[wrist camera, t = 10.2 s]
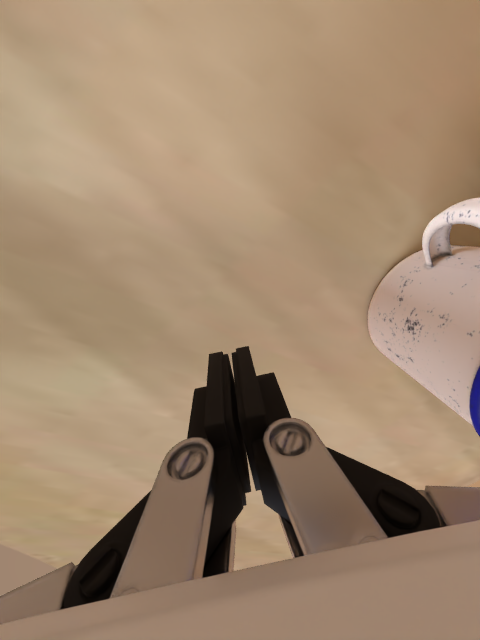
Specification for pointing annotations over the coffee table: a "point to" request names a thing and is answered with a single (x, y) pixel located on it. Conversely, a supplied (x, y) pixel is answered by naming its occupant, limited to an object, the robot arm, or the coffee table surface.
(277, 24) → the coffee table surface
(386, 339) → the teacup with lid
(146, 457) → the coffee table surface
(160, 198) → the coffee table surface
